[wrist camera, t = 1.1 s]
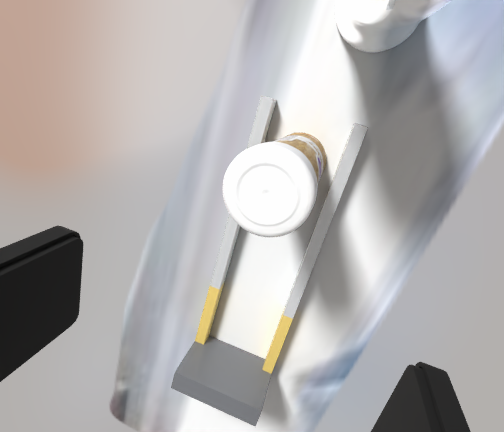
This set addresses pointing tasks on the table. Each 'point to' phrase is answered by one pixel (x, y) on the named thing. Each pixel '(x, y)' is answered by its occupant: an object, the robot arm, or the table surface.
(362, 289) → the table surface
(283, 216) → the sprinkles bottle
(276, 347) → the guide channel
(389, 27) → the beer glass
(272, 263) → the table surface
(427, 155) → the table surface
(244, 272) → the table surface
